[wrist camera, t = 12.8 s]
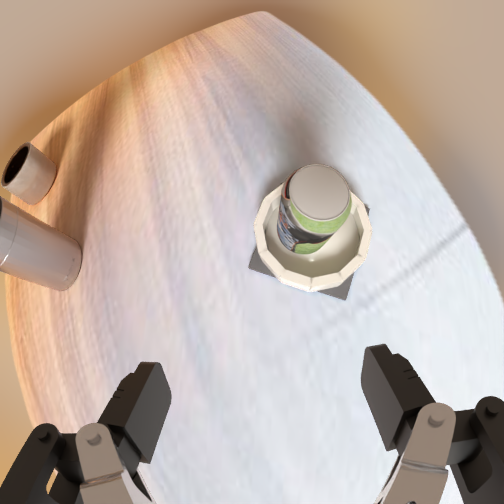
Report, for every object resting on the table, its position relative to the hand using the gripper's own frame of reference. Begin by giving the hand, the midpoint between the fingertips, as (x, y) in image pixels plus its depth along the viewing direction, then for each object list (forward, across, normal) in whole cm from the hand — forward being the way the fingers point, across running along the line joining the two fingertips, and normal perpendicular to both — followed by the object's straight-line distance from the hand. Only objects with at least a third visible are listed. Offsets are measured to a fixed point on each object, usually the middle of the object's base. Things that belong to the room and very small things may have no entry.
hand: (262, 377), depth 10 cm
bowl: (+24, -6, +1) cm, 25 cm away
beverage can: (+24, -6, 0) cm, 24 cm away
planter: (+40, +47, -14) cm, 63 cm away
